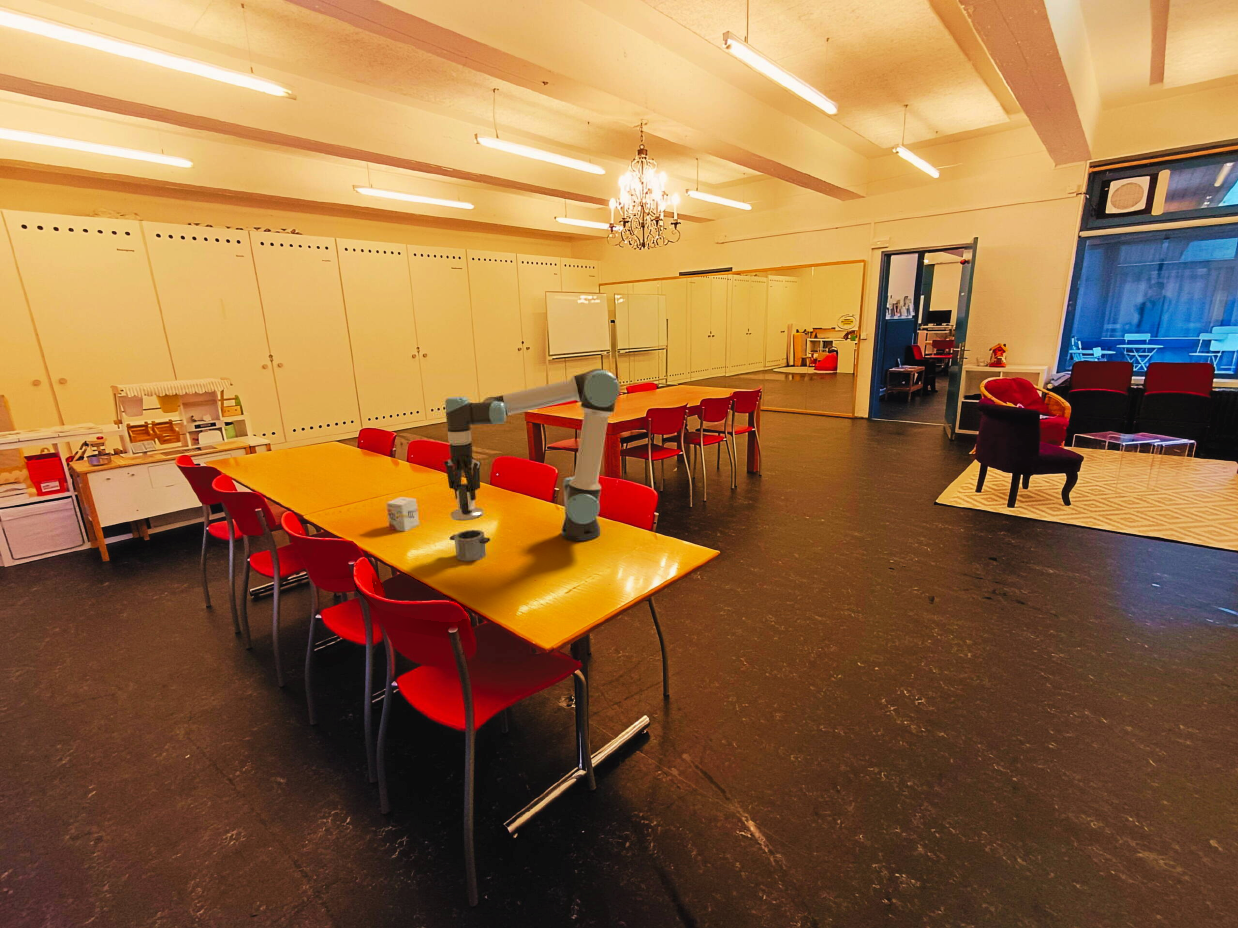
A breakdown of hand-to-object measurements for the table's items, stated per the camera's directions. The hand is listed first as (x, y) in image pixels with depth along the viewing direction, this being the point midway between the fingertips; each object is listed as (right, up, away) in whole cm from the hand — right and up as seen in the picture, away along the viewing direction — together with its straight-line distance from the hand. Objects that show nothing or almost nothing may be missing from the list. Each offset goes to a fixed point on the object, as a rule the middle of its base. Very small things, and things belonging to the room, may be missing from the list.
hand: (466, 508), depth 188 cm
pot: (+1, -17, +4) cm, 18 cm away
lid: (0, -3, +1) cm, 3 cm away
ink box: (-36, -11, +36) cm, 52 cm away
